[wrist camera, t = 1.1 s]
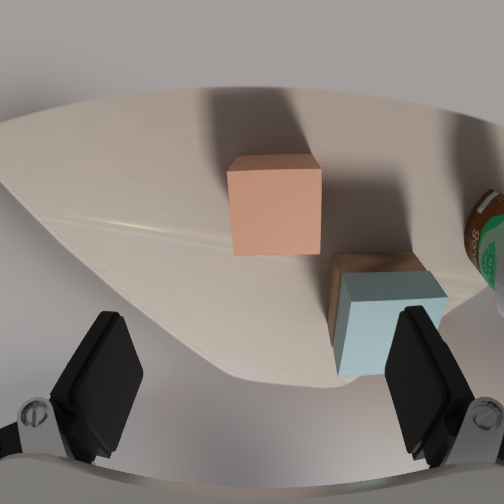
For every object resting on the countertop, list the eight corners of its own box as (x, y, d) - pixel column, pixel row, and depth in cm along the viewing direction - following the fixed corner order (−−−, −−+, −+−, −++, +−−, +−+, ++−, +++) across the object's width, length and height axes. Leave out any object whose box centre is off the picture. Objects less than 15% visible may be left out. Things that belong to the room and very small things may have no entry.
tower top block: (429, 270, 25) (448, 297, 21) (409, 340, 28) (421, 369, 25) (342, 272, 25) (351, 301, 22) (332, 345, 29) (337, 377, 25)
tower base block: (411, 250, 28) (427, 271, 25) (398, 316, 32) (408, 341, 28) (332, 252, 29) (339, 274, 25) (326, 320, 33) (331, 346, 29)
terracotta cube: (311, 153, 25) (321, 169, 20) (311, 222, 28) (319, 254, 22) (237, 155, 25) (226, 171, 20) (242, 223, 28) (234, 255, 23)
